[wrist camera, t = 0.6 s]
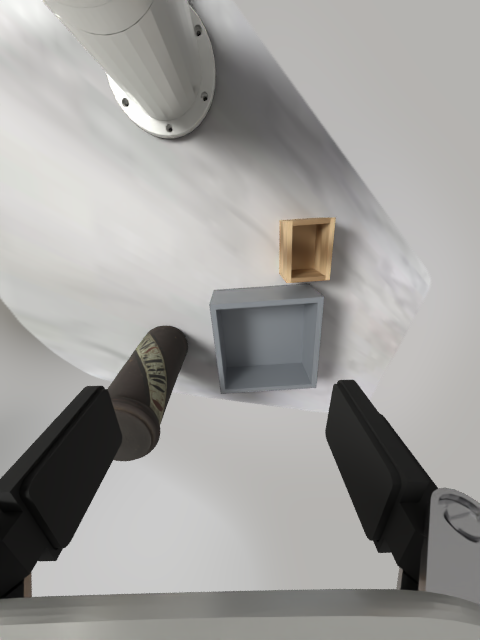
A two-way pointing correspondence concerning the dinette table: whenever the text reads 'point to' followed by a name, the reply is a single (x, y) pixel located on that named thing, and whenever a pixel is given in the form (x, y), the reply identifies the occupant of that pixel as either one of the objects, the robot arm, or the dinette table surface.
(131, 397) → the container
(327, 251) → the wooden crate
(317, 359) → the grey crate
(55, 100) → the dinette table surface
